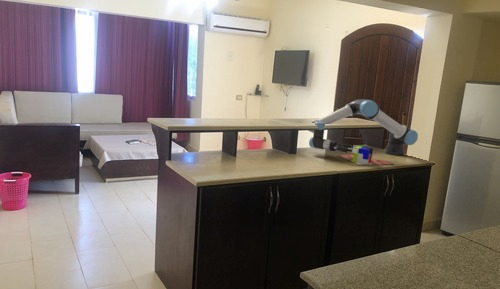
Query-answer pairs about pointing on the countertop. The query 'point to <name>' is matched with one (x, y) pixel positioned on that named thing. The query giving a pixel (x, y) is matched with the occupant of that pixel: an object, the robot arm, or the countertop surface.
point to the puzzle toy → (363, 155)
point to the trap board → (373, 162)
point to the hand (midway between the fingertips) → (359, 150)
